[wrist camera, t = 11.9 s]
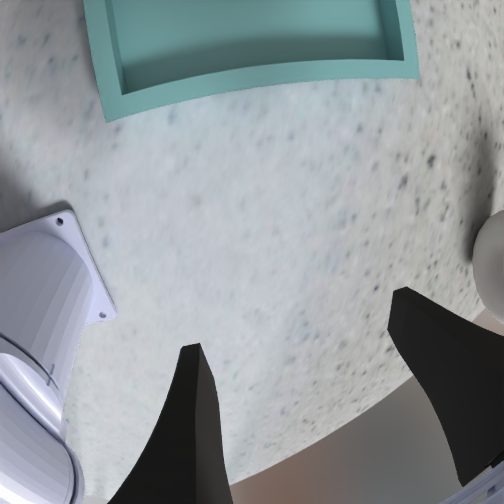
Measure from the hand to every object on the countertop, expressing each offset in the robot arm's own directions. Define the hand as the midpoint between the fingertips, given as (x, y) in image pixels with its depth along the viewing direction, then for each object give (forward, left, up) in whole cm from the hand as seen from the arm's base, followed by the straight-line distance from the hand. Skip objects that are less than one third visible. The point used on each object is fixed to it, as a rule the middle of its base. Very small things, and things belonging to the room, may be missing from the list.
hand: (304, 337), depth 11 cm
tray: (+2, +16, -9) cm, 19 cm away
